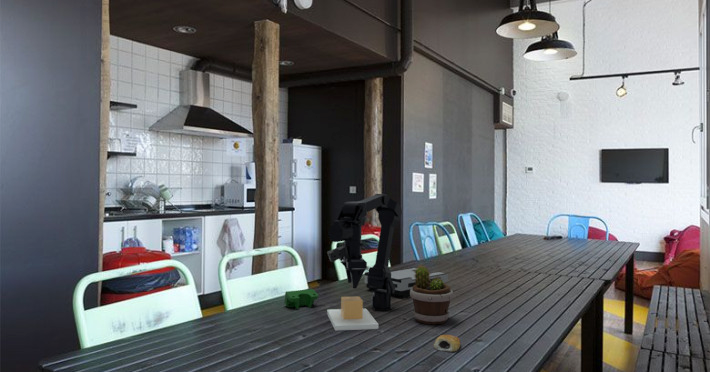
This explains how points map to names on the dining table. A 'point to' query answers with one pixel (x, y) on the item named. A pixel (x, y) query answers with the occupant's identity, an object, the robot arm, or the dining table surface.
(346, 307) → the cardboard box
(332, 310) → the plate
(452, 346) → the pastry
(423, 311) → the flowerpot
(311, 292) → the clamp
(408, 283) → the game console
